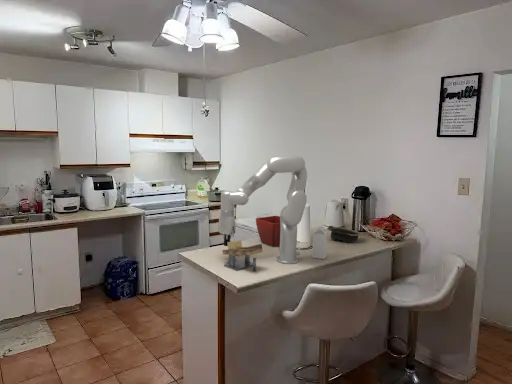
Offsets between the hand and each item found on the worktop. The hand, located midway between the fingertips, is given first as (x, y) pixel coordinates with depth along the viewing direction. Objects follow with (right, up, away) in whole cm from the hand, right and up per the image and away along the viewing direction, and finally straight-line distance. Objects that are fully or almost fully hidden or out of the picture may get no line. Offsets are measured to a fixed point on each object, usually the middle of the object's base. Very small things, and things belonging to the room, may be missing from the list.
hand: (226, 245), depth 201 cm
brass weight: (+5, -2, -5) cm, 7 cm away
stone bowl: (+80, -5, +56) cm, 98 cm away
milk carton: (+54, -9, +13) cm, 57 cm away
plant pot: (+29, -5, +41) cm, 50 cm away
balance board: (+9, -3, -9) cm, 13 cm away
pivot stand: (+9, -10, -8) cm, 15 cm away
